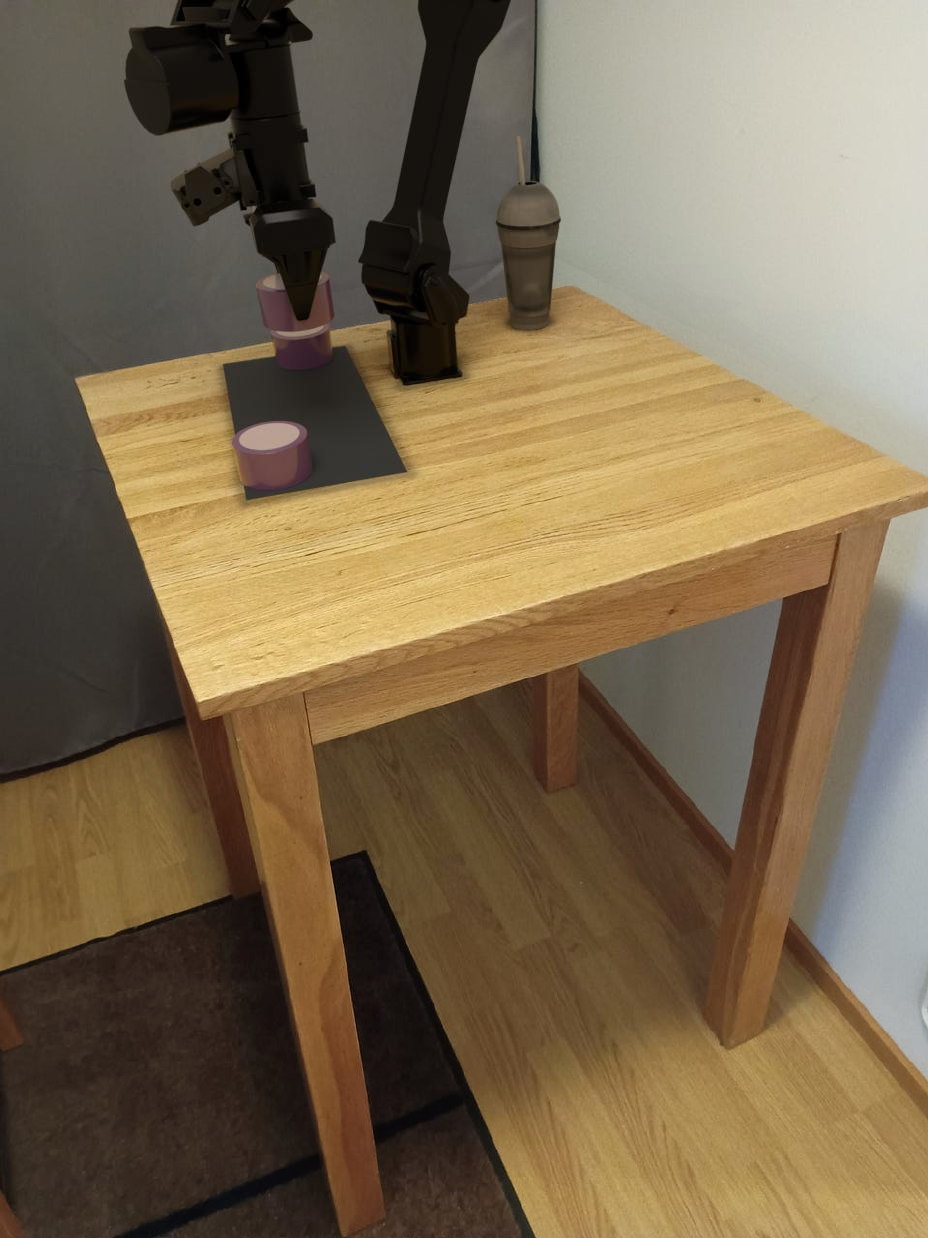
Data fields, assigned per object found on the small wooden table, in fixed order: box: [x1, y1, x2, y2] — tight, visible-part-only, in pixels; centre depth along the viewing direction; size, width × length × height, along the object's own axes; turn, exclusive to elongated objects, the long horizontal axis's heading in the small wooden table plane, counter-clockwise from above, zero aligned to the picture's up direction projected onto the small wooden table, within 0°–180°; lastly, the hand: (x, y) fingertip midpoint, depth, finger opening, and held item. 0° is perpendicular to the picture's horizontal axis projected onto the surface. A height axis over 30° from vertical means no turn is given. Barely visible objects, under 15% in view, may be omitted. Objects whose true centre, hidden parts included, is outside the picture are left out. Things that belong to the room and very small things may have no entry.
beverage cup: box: [495, 135, 562, 331], centre depth 104 cm, size 7×7×20 cm
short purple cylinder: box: [270, 323, 334, 370], centre depth 103 cm, size 6×6×4 cm
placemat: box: [222, 345, 408, 501], centre depth 93 cm, size 14×33×1 cm, turn 15°
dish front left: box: [255, 271, 335, 332], centre depth 83 cm, size 6×6×4 cm
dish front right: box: [231, 421, 313, 491], centre depth 81 cm, size 6×6×4 cm
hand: (297, 307), depth 84 cm, fingers closed on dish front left, 6 cm apart
